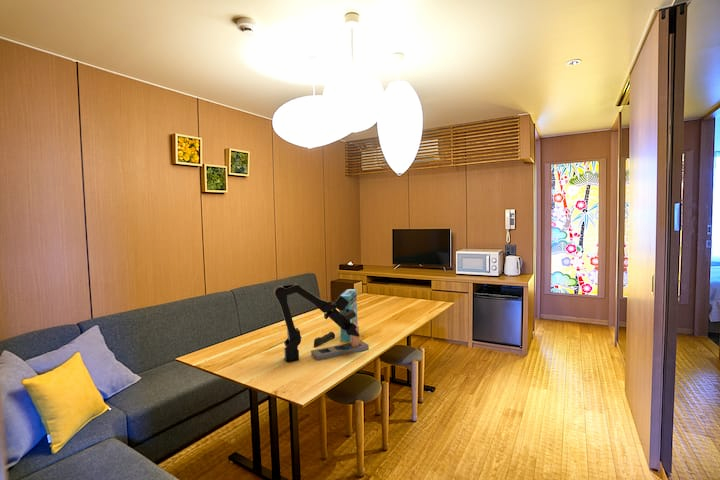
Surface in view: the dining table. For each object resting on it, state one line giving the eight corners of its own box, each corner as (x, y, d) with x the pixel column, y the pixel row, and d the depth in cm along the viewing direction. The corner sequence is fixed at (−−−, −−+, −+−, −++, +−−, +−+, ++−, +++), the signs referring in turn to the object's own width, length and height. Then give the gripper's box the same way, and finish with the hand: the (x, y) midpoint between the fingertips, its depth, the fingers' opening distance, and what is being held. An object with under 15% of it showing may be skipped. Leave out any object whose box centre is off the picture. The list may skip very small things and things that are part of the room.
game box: (351, 341, 221) (349, 296, 219) (340, 341, 222) (338, 296, 220) (358, 331, 241) (356, 289, 239) (348, 330, 242) (347, 288, 240)
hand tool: (329, 337, 231) (329, 330, 230) (335, 338, 229) (334, 330, 228) (310, 347, 215) (309, 339, 214) (315, 348, 212) (315, 340, 212)
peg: (353, 350, 206) (352, 327, 205) (351, 348, 210) (350, 325, 209) (359, 349, 207) (358, 326, 207) (357, 347, 211) (356, 324, 210)
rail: (317, 360, 194) (316, 355, 194) (311, 355, 202) (311, 350, 202) (368, 349, 207) (368, 345, 207) (361, 344, 215) (361, 340, 215)
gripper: (352, 309, 197) (372, 327, 201) (341, 302, 214) (360, 318, 219) (338, 326, 195) (359, 344, 199) (328, 317, 212) (348, 334, 217)
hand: (357, 334), depth 208 cm, fingers open, 5 cm apart
